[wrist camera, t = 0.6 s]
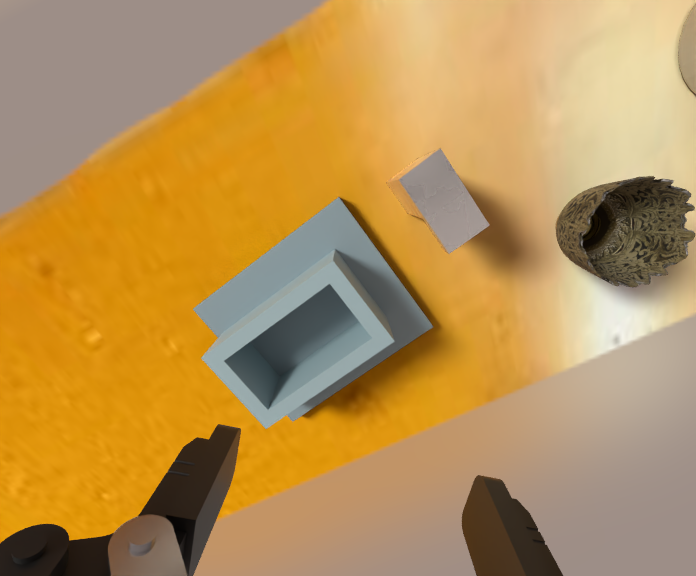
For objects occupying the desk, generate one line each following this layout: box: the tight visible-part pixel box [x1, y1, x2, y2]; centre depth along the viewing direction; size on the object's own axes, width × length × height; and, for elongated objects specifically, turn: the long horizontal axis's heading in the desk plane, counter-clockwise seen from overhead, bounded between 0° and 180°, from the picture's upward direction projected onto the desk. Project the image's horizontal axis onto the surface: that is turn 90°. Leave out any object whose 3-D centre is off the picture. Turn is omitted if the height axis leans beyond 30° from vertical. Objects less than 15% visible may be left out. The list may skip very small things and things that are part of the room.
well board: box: [193, 197, 433, 429], centre depth 32 cm, size 16×14×7 cm
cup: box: [556, 176, 695, 287], centre depth 29 cm, size 8×7×8 cm
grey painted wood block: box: [386, 149, 489, 254], centre depth 29 cm, size 3×6×8 cm, turn 37°
